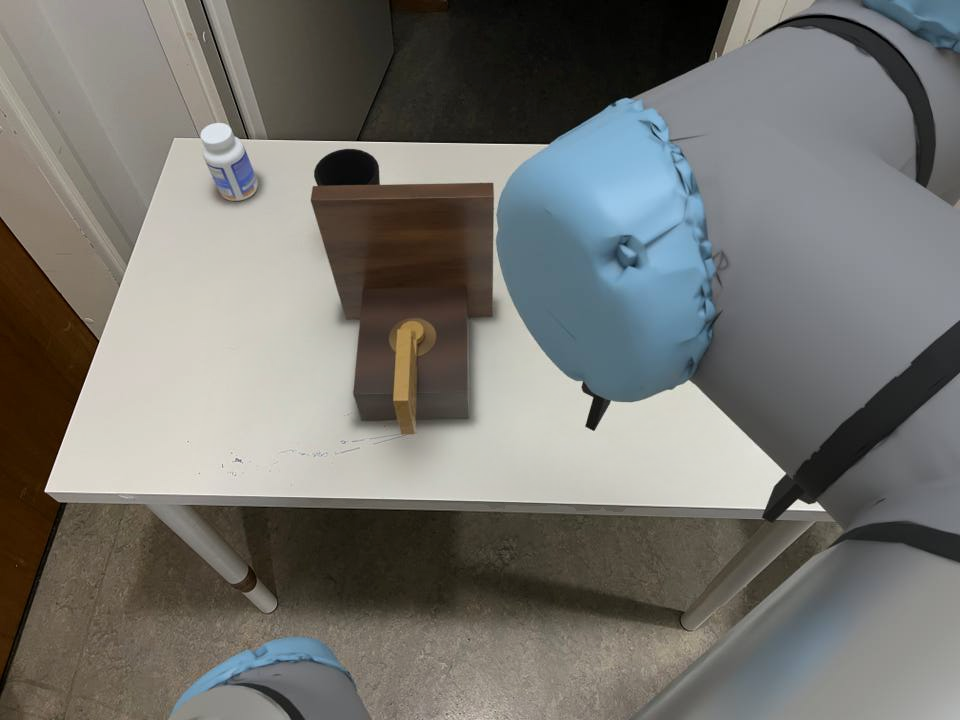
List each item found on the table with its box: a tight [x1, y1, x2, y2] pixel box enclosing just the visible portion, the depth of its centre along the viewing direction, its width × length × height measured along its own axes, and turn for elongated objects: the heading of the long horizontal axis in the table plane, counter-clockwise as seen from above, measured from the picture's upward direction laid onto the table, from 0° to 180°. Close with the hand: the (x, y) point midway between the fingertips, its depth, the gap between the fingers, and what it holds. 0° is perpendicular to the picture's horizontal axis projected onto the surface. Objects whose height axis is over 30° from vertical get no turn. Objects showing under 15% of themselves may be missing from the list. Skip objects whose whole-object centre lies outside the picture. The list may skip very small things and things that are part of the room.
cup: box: [313, 148, 381, 186], centre depth 86 cm, size 8×8×12 cm
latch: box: [393, 321, 424, 436], centre depth 69 cm, size 13×3×7 cm, turn 1°
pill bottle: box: [200, 122, 259, 202], centre depth 92 cm, size 5×5×10 cm
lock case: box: [310, 182, 495, 422], centre depth 72 cm, size 16×18×20 cm
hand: (681, 458), depth 50 cm, fingers open, 13 cm apart
